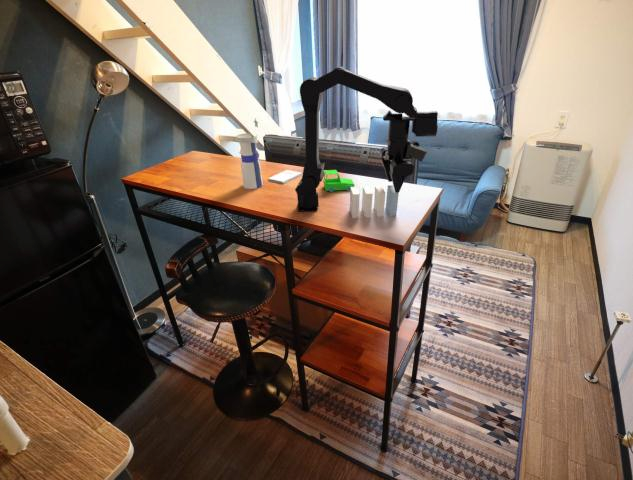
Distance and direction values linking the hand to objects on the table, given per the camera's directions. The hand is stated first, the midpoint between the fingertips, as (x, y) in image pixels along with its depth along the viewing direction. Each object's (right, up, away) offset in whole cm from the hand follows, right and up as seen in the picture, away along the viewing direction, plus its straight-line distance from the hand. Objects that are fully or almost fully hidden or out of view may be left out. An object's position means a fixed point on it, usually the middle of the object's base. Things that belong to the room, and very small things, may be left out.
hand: (393, 186), depth 107 cm
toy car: (-16, +3, +24) cm, 29 cm away
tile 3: (-4, -8, +4) cm, 10 cm away
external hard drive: (-37, +9, +35) cm, 52 cm away
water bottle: (-49, +5, +28) cm, 57 cm away
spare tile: (0, -7, +4) cm, 9 cm away
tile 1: (-12, -8, +4) cm, 15 cm away
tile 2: (-8, -8, +4) cm, 12 cm away
